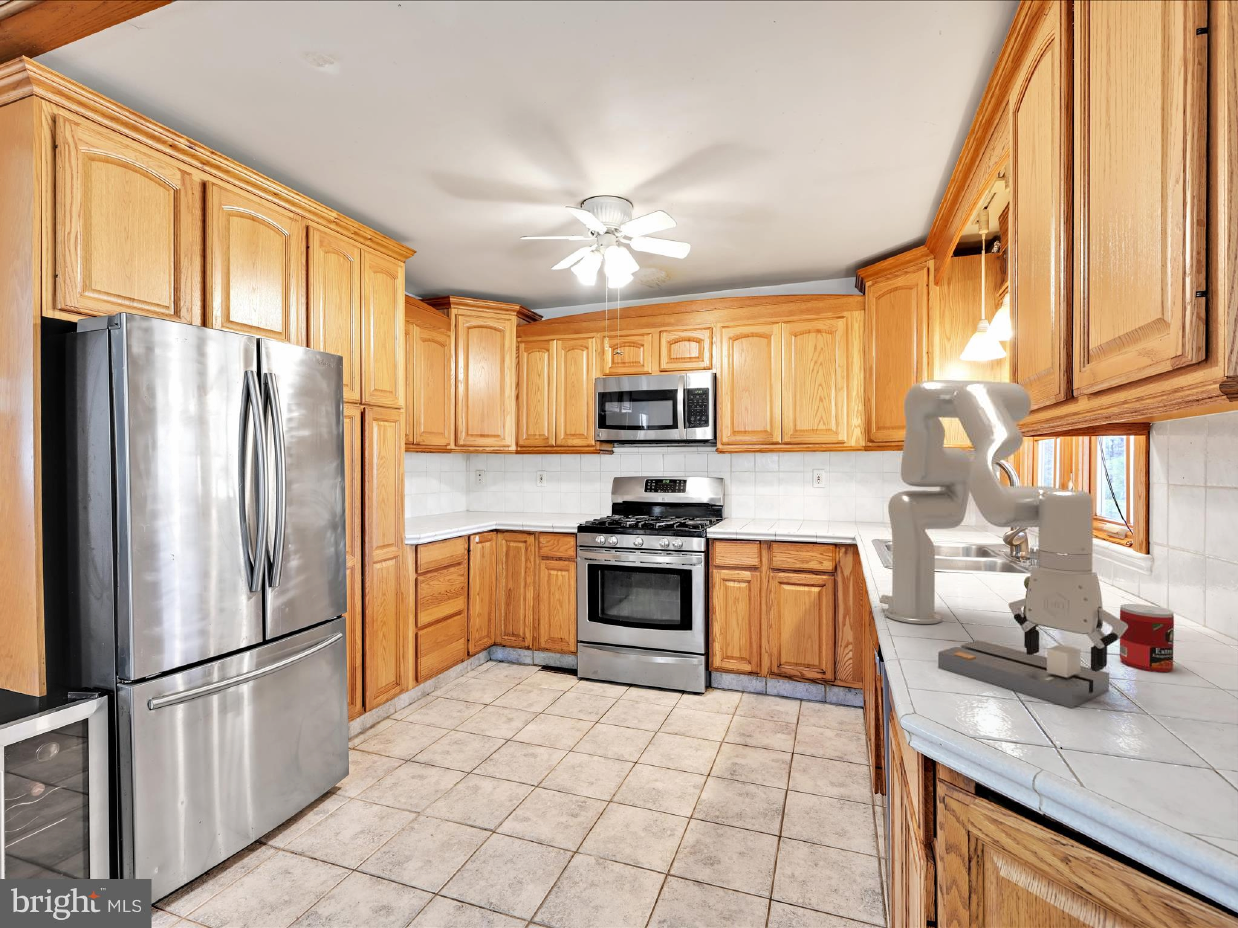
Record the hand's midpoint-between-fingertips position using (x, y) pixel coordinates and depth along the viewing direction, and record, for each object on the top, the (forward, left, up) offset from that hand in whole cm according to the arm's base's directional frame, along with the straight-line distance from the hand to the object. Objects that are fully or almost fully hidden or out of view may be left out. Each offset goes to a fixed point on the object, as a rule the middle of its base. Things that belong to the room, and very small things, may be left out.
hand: (1063, 661), depth 105 cm
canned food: (+2, +28, -5) cm, 29 cm away
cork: (-24, +44, -5) cm, 50 cm away
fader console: (-7, 0, -5) cm, 9 cm away
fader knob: (0, 0, -4) cm, 4 cm away
